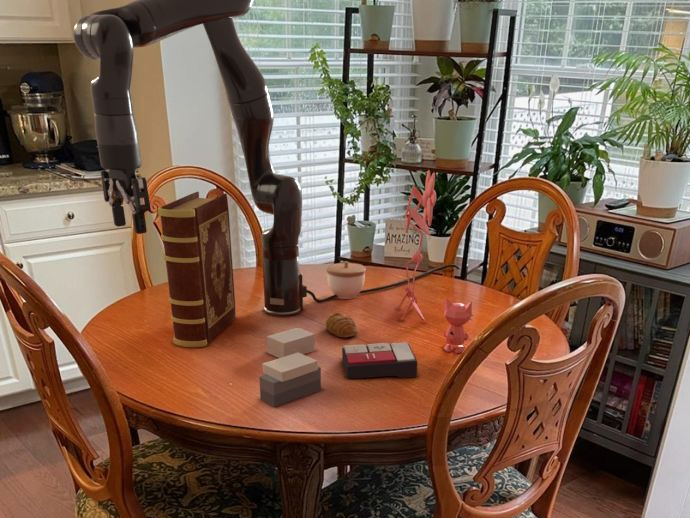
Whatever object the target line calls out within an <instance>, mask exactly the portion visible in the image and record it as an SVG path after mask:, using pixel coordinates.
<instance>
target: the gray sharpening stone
mask: <svg viewBox="0 0 690 518" xmlns="http://www.w3.org/2000/svg"><path fill="white" fill-rule="evenodd" d="M258 379H259V397H260V399H259V400H260V401H262V402H264V403H266V404H268V405H269V406H272V407H273V408H277V407H278V406H282V405H284V404H286V403H290V402H291V401H292V402H293V401H295V400H298V399H300V398H304V397H306V396H308V395H311V394H314V393H317V392H320V391H321V390H322V366H320V365H318V370H316V371H313V372H310V373H308V374H305V375H302V376H299V377H296V378H293V379H290V380H287V381H284V382H281V381H279V380H277V379H275V378H273V377H271V376H269V375H266V374H262V375H259V376H258Z"/></svg>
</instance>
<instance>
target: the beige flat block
mask: <svg viewBox="0 0 690 518" xmlns="http://www.w3.org/2000/svg"><path fill="white" fill-rule="evenodd" d="M318 363H319V361H318V360H317V359H314V358H312V357H310V356H307V355H306V354H301V353H294V354H291V355H288V356H285V357H282V358H276V359H273V360H269V361H265V362H263V363H262V373H263V375H265V374H266V375H269V376H271V377H273V378H275V379H277V380H279V381H281V382H284V381H287V380H290V379H293V378H296V377H299V376H302V375H305V374H308V373H310V372H313V371H316V370H318V366H319V365H318Z"/></svg>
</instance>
